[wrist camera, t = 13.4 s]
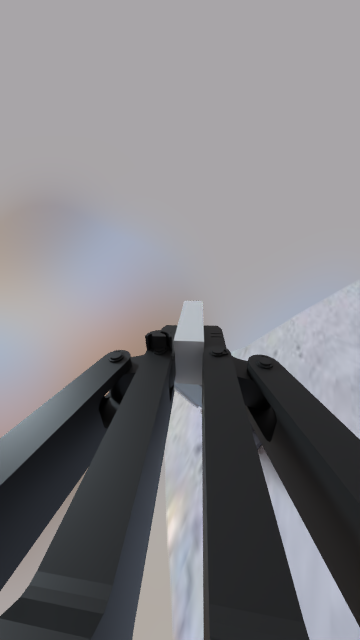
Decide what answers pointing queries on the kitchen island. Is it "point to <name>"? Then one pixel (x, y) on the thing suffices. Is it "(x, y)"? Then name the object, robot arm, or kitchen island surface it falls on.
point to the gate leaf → (190, 393)
